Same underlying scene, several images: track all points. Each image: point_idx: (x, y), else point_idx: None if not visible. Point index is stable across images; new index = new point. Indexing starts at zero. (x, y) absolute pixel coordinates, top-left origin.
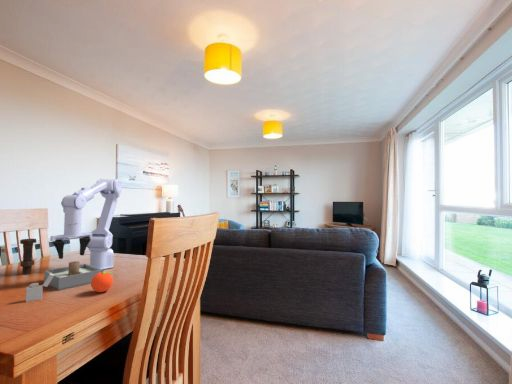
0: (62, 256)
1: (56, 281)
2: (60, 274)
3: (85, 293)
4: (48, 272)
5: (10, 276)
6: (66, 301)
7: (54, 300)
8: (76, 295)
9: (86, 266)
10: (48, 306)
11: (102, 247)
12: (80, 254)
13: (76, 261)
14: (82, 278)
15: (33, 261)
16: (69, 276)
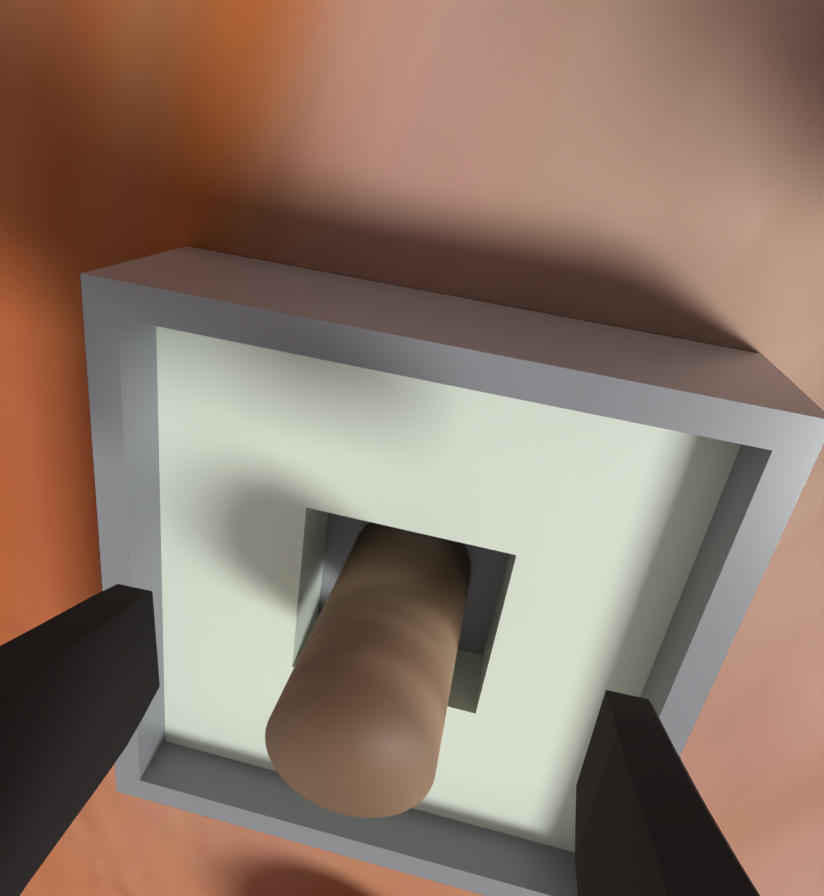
0: (115, 739)
1: None
2: (275, 486)
3: (289, 887)
4: (99, 459)
5: None
6: (145, 888)
7: (100, 820)
8: (231, 866)
9: (729, 513)
10: (50, 863)
11: None
12: (597, 730)
13: (411, 735)
14: None
15: None
16: (215, 815)
